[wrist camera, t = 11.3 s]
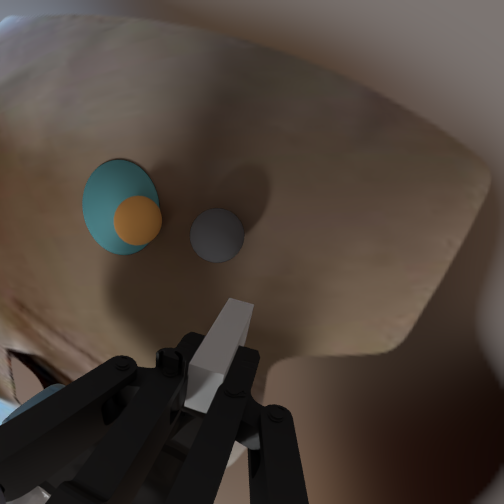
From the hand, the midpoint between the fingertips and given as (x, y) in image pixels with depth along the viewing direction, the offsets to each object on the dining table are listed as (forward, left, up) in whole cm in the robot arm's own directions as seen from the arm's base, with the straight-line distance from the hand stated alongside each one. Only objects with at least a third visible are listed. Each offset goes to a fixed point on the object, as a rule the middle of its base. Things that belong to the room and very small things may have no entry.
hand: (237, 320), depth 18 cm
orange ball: (+10, +11, -14) cm, 20 cm away
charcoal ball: (+4, +4, -14) cm, 15 cm away
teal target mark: (+14, +14, -16) cm, 25 cm away
